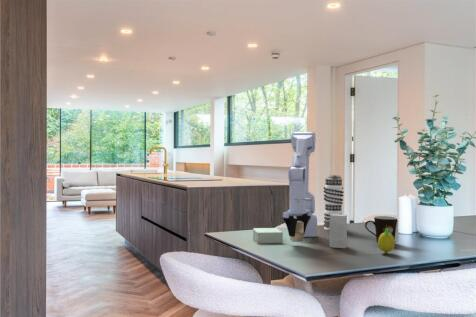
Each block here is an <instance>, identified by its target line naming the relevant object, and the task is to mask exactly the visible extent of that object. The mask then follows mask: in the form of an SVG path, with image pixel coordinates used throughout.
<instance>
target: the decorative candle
mask: <svg viewBox="0 0 476 317" xmlns="http://www.w3.org/2000/svg"><path fill="white" fill-rule="evenodd" d="M324 180H325V185H324V186H323V189H324V190H323V191H322V192H323V193H324V194H323V197H324V198H323V200H324V202H323V204H324V214H323V215H324V216H323V219H324V220H323V223H324V224H323V226H324V227H323V230H327V231H330V215H331V214H341V215H343V210H342V209H343V206H342V205H344V204H343V201H344V199H343V197H344V191H343V189H344V187H343V178H342V177H341V175H338V174H337V175H336V174H334V175H333V174H328V175H327V176H326V177H325V178H324Z"/></svg>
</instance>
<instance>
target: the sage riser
mask: <svg viewBox="0 0 476 317" xmlns="http://www.w3.org/2000/svg"><path fill="white" fill-rule="evenodd" d="M283 234H284V233H283V231H282V230H280V229H279V228H278V227H254V228H252V238H253V240H254V241H255V243H257V244H274V243H275V244H276V243H277V244H279V243H280V244H281V243H283V242H284V239H283V237H284V236H283Z"/></svg>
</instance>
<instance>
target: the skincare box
mask: <svg viewBox="0 0 476 317" xmlns="http://www.w3.org/2000/svg"><path fill="white" fill-rule="evenodd" d="M347 225H348V216H347V214H342V215H341V214H331V215H330V230H329V248H335V249H336V248H338V249H347V246H348V239H347V238H348V237H347V232H348V226H347Z"/></svg>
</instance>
